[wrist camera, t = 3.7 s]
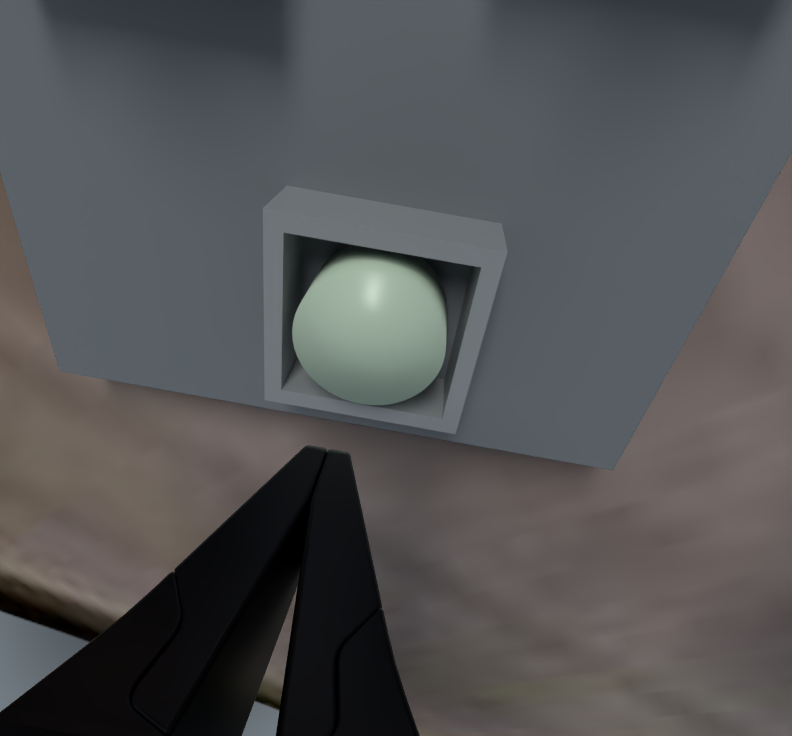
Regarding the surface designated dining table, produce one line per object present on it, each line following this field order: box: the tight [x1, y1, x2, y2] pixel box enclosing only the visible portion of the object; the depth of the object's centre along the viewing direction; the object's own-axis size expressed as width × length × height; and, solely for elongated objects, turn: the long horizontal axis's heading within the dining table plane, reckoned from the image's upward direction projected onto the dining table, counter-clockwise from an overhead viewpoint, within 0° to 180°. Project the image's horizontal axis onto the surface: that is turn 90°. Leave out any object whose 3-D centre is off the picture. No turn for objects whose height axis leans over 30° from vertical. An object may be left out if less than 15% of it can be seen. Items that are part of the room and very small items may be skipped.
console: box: [0, 0, 792, 470], centre depth 12 cm, size 20×22×4 cm
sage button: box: [292, 245, 448, 405], centre depth 14 cm, size 4×4×2 cm
